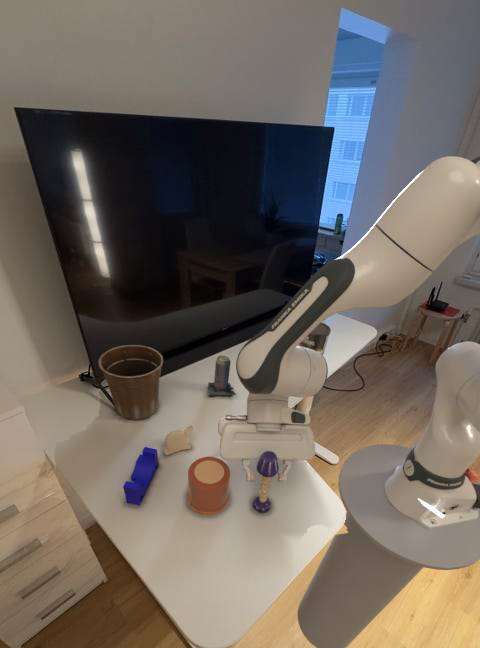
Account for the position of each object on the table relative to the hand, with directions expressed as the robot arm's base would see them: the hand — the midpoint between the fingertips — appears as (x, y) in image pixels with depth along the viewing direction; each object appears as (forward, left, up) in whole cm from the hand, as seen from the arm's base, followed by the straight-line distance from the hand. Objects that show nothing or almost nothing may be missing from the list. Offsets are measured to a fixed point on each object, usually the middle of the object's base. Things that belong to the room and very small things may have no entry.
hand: (266, 481), depth 72 cm
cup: (+12, -3, -9) cm, 15 cm away
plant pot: (+33, -35, -10) cm, 49 cm away
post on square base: (+9, -44, -10) cm, 46 cm away
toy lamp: (0, -1, -10) cm, 10 cm away
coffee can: (-24, -64, -10) cm, 69 cm away
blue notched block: (+28, -7, -10) cm, 30 cm away
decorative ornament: (+20, -19, -10) cm, 29 cm away
